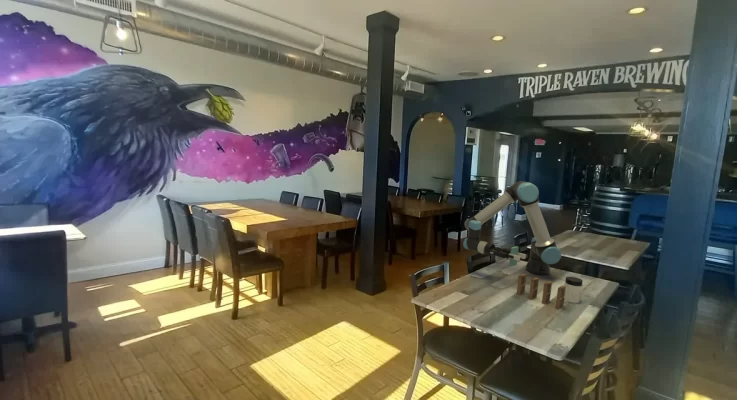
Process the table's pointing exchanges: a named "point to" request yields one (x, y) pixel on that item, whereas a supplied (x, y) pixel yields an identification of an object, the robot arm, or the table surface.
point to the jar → (573, 289)
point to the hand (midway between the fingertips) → (522, 257)
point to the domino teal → (515, 252)
